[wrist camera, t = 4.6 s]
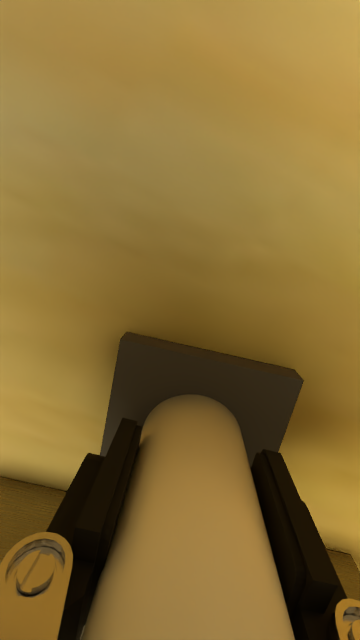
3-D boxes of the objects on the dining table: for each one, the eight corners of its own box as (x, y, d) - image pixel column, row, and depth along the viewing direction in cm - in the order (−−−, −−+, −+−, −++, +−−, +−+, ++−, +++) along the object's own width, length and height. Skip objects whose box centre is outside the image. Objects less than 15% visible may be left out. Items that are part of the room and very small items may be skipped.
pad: (126, 332, 11) (120, 339, 10) (294, 369, 11) (303, 380, 10) (101, 472, 13) (93, 490, 12) (247, 505, 13) (251, 525, 12)
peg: (152, 384, 11) (-229, 1579, 1) (253, 406, 11) (789, 1795, 1) (133, 469, 12) (-155, 1511, 2) (226, 490, 12) (384, 1620, 2)
